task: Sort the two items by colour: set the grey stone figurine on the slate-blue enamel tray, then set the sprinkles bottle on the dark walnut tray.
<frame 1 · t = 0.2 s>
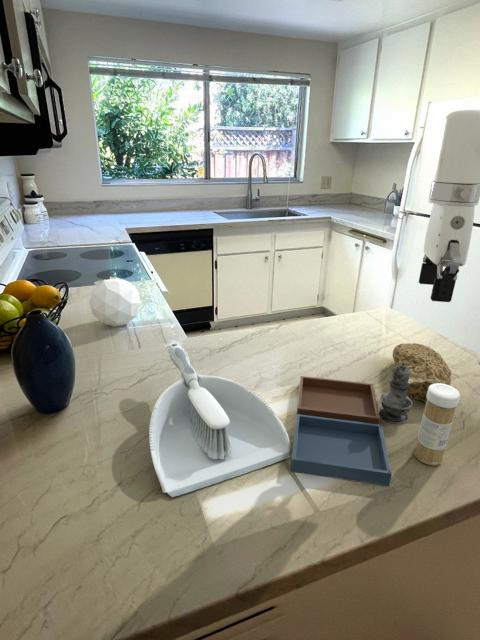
hand: (433, 292, 73), 24 cm above the countertop, tool pointing down, fingers open, 9 cm apart
sprinkles bottle: (427, 458, 68), on the countertop
grey stone figurine: (393, 416, 79), on the countertop
tray blue: (337, 452, 69), on the countertop
tray walnut: (335, 405, 82), on the countertop
geodesic sphere: (117, 324, 118), on the countertop
dustpan and brush: (198, 419, 77), on the countertop
sponge: (416, 381, 91), on the countertop
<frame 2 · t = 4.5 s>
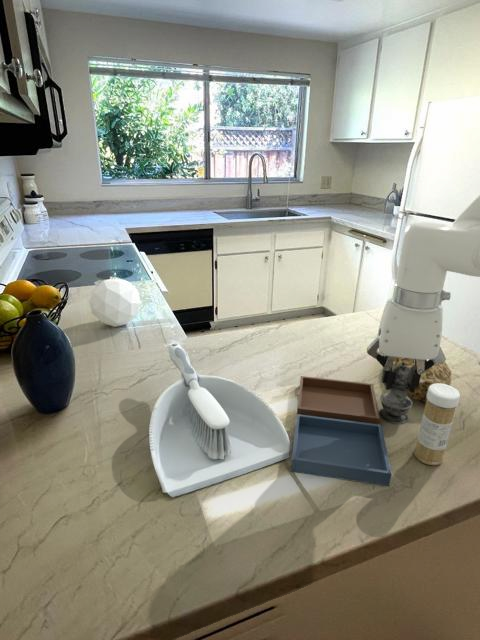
hand: (398, 386, 76), 7 cm above the countertop, tool pointing down, fingers closed on grey stone figurine, 3 cm apart
grey stone figurine: (393, 416, 79), on the countertop, touching gripper
everything else where it was.
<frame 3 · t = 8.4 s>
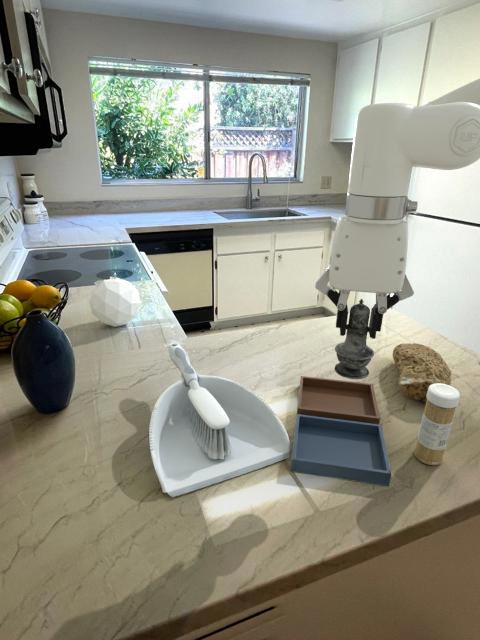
hand: (357, 332, 61), 23 cm above the countertop, tool pointing down, fingers closed on grey stone figurine, 3 cm apart
grey stone figurine: (351, 371, 63), point 16 cm above the countertop, touching gripper
everything else where it was.
when the fingers open (7 cm above the countertop, at t = 12.2 s): grey stone figurine stays where it is, resting on tray blue.
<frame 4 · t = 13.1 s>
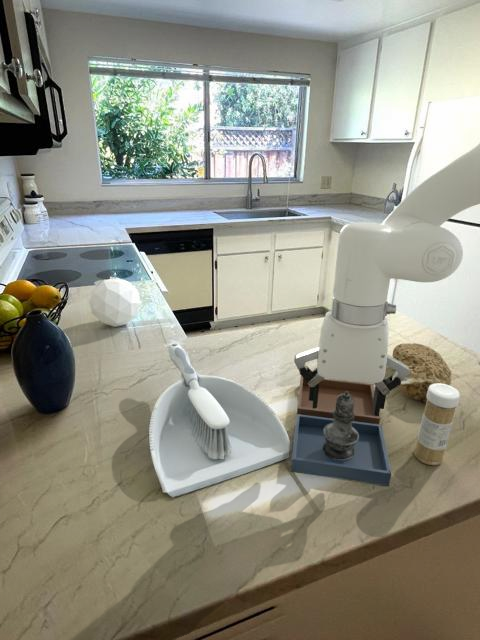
hand: (344, 407, 65), 9 cm above the countertop, tool pointing down, fingers open, 9 cm apart
grey stone figurine: (338, 451, 69), resting on tray blue
everything else where it was.
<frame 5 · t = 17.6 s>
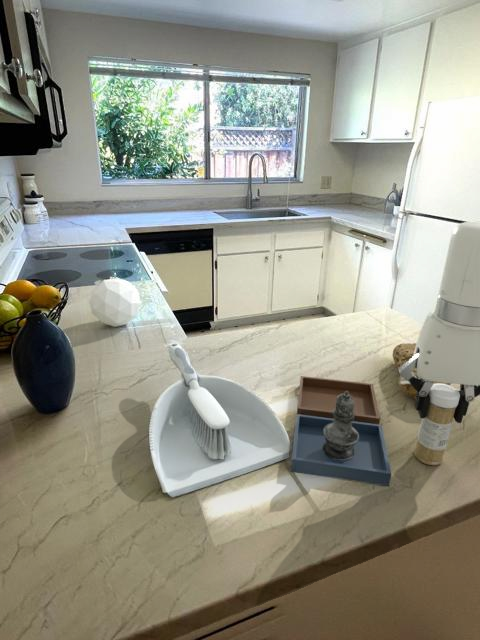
hand: (438, 414, 65), 9 cm above the countertop, tool pointing down, fingers closed on sprinkles bottle, 4 cm apart
sprinkles bottle: (427, 458, 68), on the countertop, touching gripper
everything else where it was.
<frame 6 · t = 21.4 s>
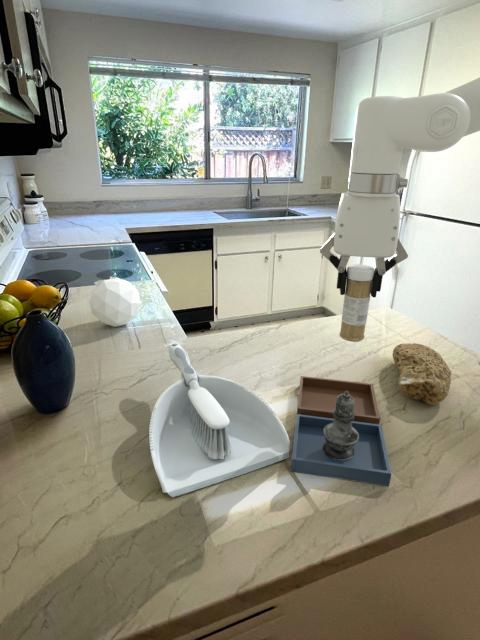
hand: (357, 292, 71), 25 cm above the countertop, tool pointing down, fingers closed on sprinkles bottle, 4 cm apart
sprinkles bottle: (351, 338, 74), point 16 cm above the countertop, touching gripper
everything else where it was.
when the fingers open (9 cm above the countertop, at t = 25.2 s): sprinkles bottle stays where it is, resting on tray walnut.
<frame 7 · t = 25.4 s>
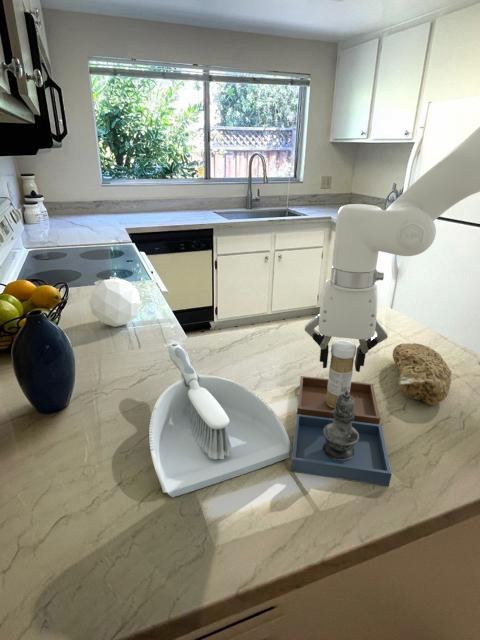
hand: (340, 365, 78), 9 cm above the countertop, tool pointing down, fingers open, 5 cm apart
sprinkles bottle: (336, 404, 82), resting on tray walnut
everything else where it was.
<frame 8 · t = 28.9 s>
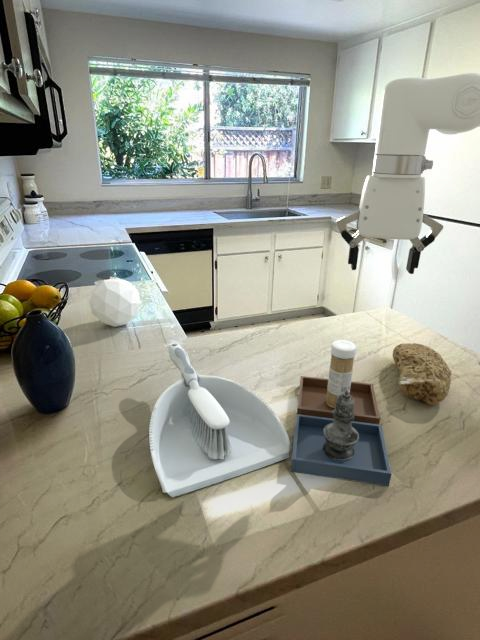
hand: (381, 270, 72), 28 cm above the countertop, tool pointing down, fingers open, 9 cm apart
nothing on the countertop moved.
at the end: grey stone figurine inside the target area in the tray blue (0.1 cm from its centre), point 0.3 cm above the tray blue's base; sprinkles bottle inside the target area in the tray walnut (0.1 cm from its centre), point 0.3 cm above the tray walnut's base; sprinkles bottle tilted 0° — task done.
